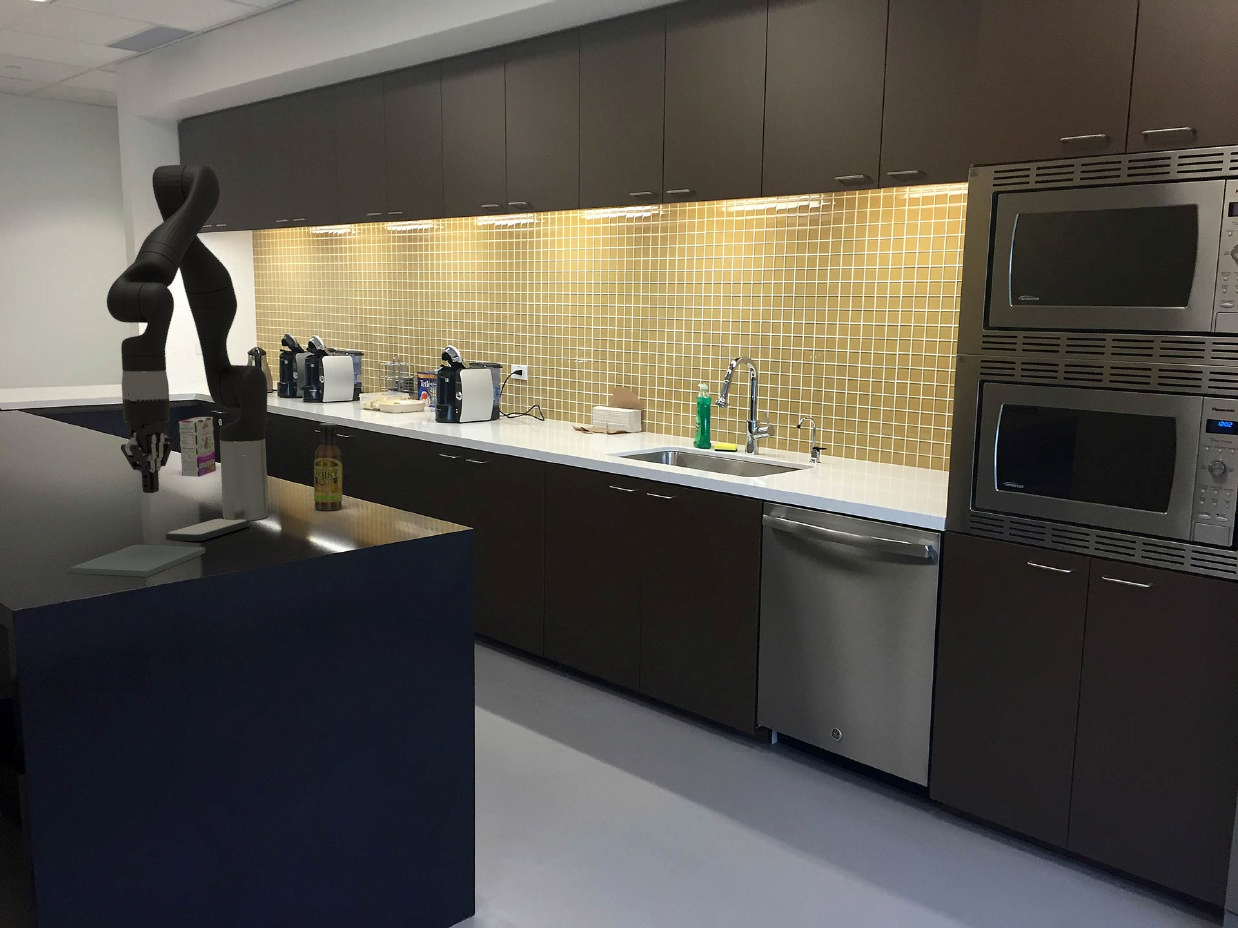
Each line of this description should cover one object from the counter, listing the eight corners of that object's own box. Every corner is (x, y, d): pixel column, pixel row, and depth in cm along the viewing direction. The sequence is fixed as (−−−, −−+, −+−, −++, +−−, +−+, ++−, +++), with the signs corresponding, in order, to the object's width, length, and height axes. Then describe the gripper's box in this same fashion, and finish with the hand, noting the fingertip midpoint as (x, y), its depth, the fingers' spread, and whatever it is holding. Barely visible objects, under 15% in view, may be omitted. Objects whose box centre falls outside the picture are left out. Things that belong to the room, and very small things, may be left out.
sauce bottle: (311, 511, 224) (308, 424, 221) (318, 506, 230) (316, 422, 227) (339, 511, 224) (337, 425, 222) (346, 506, 231) (344, 422, 228)
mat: (135, 549, 184) (135, 544, 184) (205, 552, 183) (205, 547, 182) (70, 573, 167) (70, 567, 166) (147, 576, 165) (147, 571, 165)
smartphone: (200, 543, 190) (252, 526, 206) (199, 535, 190) (252, 519, 205) (162, 541, 193) (216, 525, 208) (161, 533, 192) (216, 518, 208)
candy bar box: (198, 475, 275) (196, 416, 272) (216, 475, 275) (214, 416, 272) (180, 481, 264) (177, 420, 261) (199, 481, 264) (196, 420, 261)
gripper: (148, 393, 181) (153, 486, 184) (102, 398, 168) (108, 497, 171) (186, 394, 181) (190, 487, 183) (143, 399, 168) (148, 499, 170)
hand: (150, 492), depth 177 cm, fingers closed
